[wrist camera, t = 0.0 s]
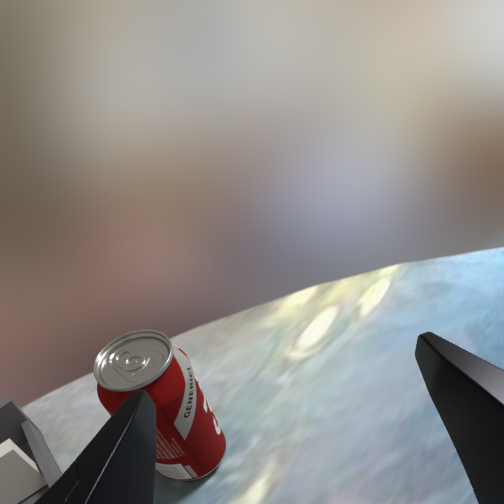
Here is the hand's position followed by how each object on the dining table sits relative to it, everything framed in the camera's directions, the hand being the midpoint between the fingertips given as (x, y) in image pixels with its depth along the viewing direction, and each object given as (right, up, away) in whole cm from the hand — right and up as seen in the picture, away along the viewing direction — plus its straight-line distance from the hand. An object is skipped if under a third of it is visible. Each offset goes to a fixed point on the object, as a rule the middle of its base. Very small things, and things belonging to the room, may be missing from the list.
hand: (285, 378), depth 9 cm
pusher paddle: (-23, -19, +8) cm, 30 cm away
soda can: (-6, -13, +14) cm, 21 cm away
